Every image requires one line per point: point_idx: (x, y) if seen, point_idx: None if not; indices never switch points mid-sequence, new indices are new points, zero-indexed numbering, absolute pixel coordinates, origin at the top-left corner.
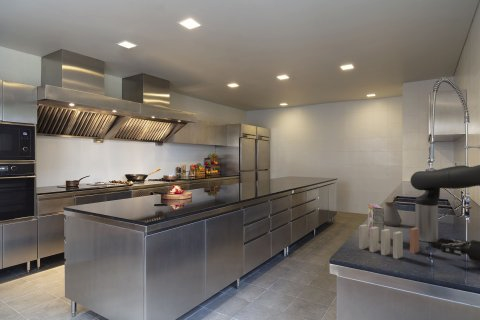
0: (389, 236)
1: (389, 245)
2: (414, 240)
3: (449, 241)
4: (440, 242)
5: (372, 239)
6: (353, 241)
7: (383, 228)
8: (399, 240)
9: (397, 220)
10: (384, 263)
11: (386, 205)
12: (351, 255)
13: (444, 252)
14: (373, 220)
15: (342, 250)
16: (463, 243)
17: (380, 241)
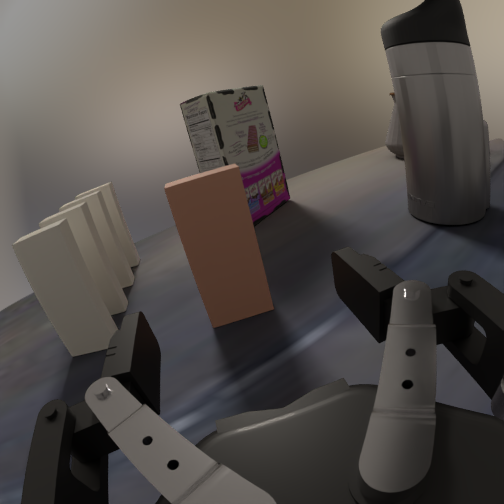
0: (86, 240)
1: (103, 280)
2: (194, 257)
3: (373, 303)
4: (336, 287)
5: None
6: (165, 232)
7: None
8: (47, 275)
9: None
10: (6, 368)
11: (393, 99)
12: (34, 305)
13: (78, 467)
14: (193, 151)
15: None
16: (359, 486)
17: None
